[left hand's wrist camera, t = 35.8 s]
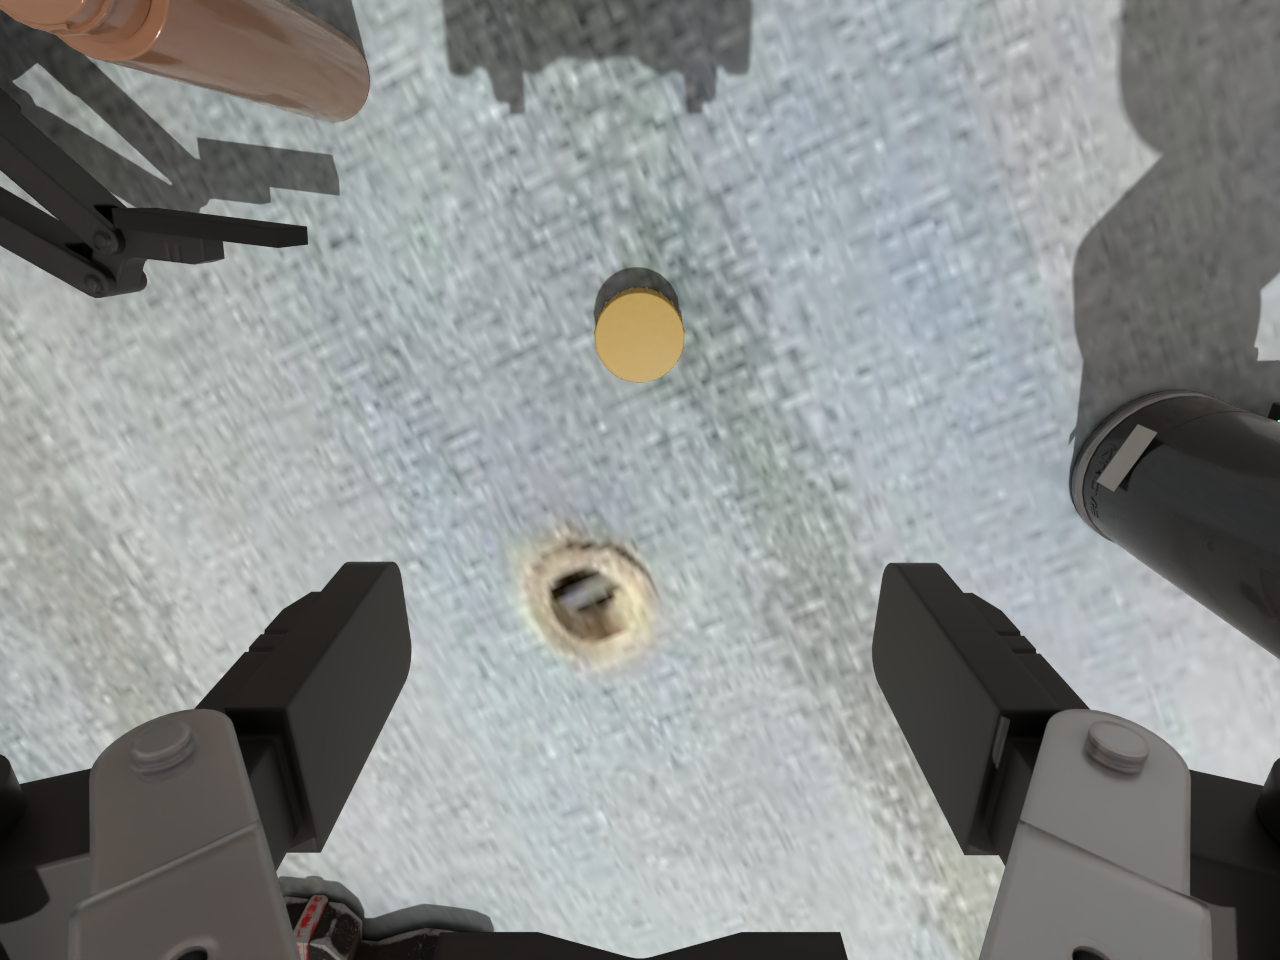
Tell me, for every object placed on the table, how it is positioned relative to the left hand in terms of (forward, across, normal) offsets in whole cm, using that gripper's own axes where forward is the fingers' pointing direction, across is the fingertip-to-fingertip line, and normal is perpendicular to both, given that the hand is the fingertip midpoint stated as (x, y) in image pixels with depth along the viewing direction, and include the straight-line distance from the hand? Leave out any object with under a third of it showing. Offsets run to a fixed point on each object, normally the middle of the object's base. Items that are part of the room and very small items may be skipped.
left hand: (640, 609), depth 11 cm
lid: (+25, 0, 0) cm, 25 cm away
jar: (+27, +15, -12) cm, 33 cm away
